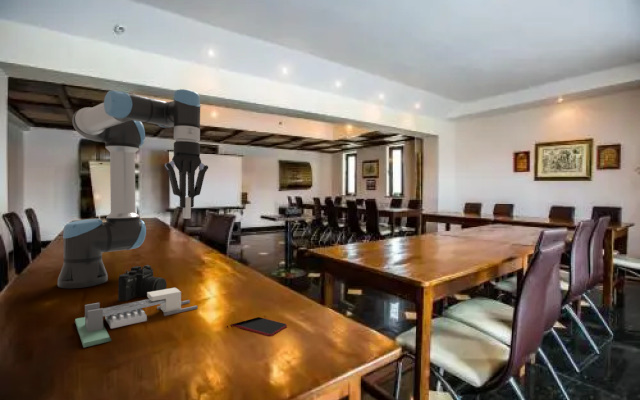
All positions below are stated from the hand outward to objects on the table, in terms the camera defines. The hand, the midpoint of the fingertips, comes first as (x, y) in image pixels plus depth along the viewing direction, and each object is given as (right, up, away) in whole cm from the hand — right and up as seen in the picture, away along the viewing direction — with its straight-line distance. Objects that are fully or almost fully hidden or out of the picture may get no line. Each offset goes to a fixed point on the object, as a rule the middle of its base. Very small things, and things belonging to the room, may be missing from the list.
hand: (186, 218), depth 104 cm
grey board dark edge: (-9, -23, -16) cm, 29 cm away
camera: (-15, -26, +4) cm, 31 cm away
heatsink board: (-6, -27, -14) cm, 31 cm away
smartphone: (+25, -28, -16) cm, 40 cm away
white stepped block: (-2, -26, -10) cm, 28 cm away
